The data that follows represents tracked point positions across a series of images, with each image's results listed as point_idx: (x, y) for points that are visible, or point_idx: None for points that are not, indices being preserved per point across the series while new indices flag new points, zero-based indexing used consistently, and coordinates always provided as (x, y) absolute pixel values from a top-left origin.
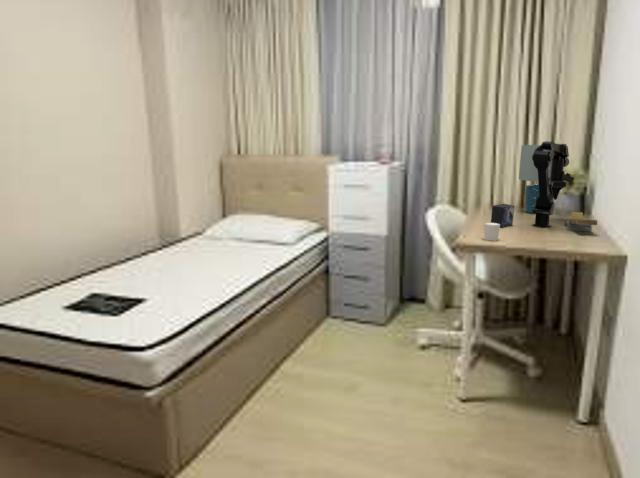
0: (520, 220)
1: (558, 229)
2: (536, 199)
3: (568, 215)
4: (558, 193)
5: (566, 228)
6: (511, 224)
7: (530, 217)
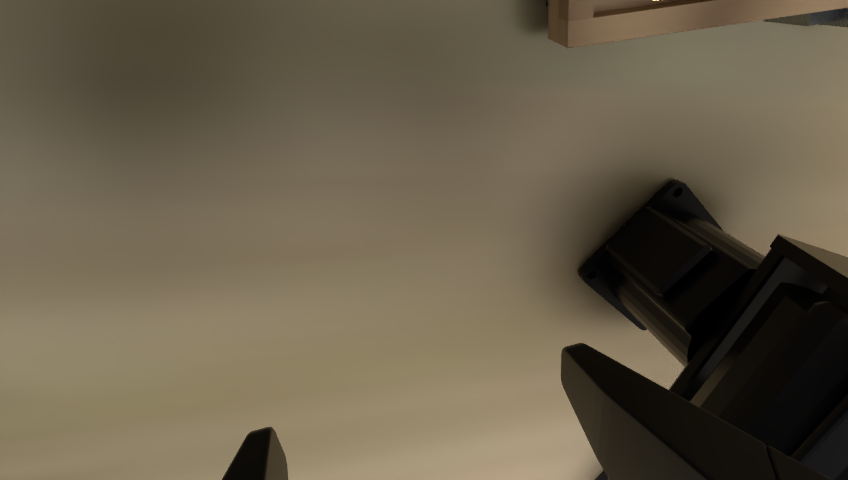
0: (404, 430)
1: (792, 108)
2: None
3: None
4: (781, 459)
5: (771, 21)
6: None
7: (158, 397)
